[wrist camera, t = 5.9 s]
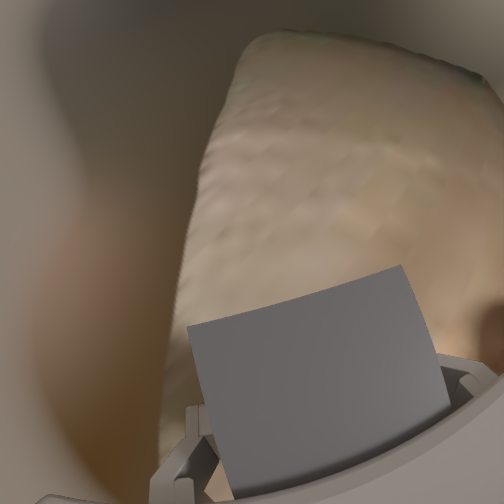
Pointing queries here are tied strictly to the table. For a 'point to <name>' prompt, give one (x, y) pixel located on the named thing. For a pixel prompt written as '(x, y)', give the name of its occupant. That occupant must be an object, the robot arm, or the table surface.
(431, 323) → the table surface
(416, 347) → the gray rectangular block
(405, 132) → the table surface
